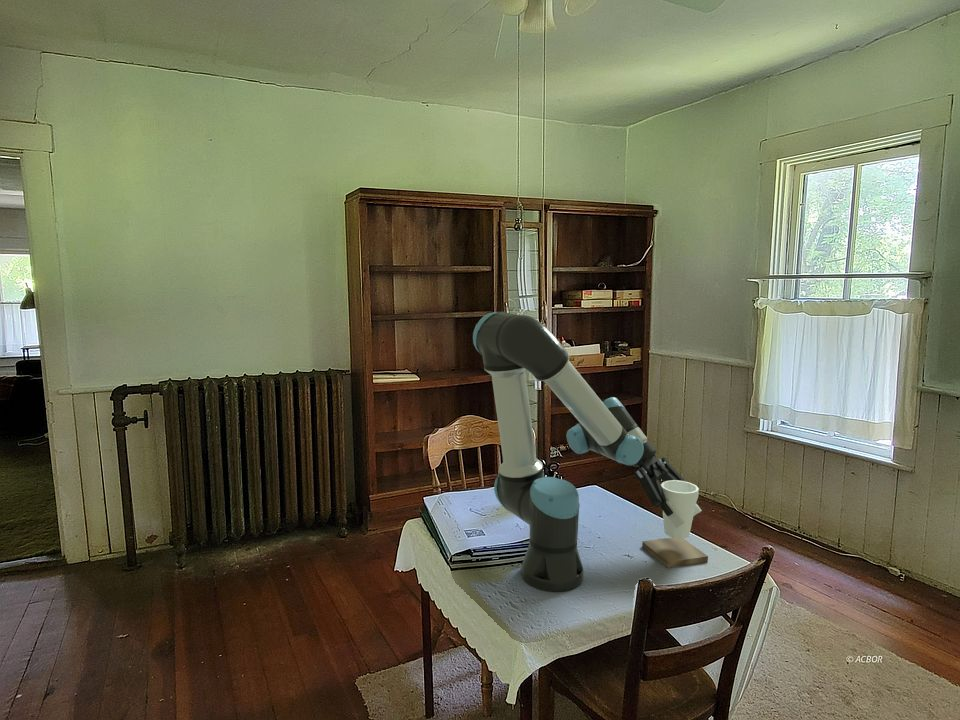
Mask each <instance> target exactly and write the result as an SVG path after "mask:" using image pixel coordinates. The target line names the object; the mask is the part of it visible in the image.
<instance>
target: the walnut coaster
mask: <svg viewBox="0 0 960 720" xmlns="http://www.w3.org/2000/svg"><path fill="white" fill-rule="evenodd" d="M641 543H642V545H641V546H642V548H643V549H644V550H646V551H647V552H648V553H649V554H650V555H652V556H653V557H654V558H655V559H657V560H658V561H659V562H660V563H661V564H662V565H664V566H665V567H666V568H668V569H669V568H675V567H679V566H680V567H681V566H687V565H693V564H700V563H701V564H702V563H707V562H709V555H707V554H705V552H704V551H701V550H700V548H697V547H696V546H695V545H693V544H692V543H690V542H689V541H688V540H686V538H682V539H679V538H673V537H667V538H665V537H664V538H659V539H651V540H644V541H642V542H641Z"/></svg>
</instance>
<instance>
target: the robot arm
mask: <svg viewBox="0 0 960 720" xmlns="http://www.w3.org/2000/svg"><path fill="white" fill-rule="evenodd" d="M472 343H473V346H474V347H475V350H476V351H477V352H478V353H479V354H480V355H481V356H482V360H483V369H484V371H485V372H487V373H488V374H489V375H490V376H491V382H492V389H493V395H494V403H495V409H496V410H495V411H496V417H497V426H498V432H499V441H500V446H501V447H500V448H501V455H502V461H503V462H502V463H501V464H500V465H499V466H498V473H497V477H496V478H495V481H494V485H493V487H494V489H493V490H494V491H493V492H494V494H495V497H496V500H497V501H498V502H499V503H500V505H502V507H503V508H504V509H505V510H506V511H508V512H510V513H512V514H513V515H514V516H515V517H517V518H519V519H520V520H522V521H523V522H525V523H526V524H527V525H529V541H528V542H529V544H528V546H527V549H526V552H525V554H524V558H523V560H522V564H521V578H522V579H523V581H524V582H526V583H527V584H528V585H529V586H531V587H534V588H536V589H538V590H541V591H547V592H564V591H565V592H567V591H571V590H573V589H576V588H577V587H579V586H580V585H581V584H582V583H583V581H584V567H583V563H582V560H581V555H580V553H579V552H580V551H579V550H578V535H579V514H580V506H581V505H580V500H579V499H580V497H579V491H578V489H577V488H576V487H575V486H574V484H572V483H571V482H569V481H568V480H565V479H563V478H557V477H553V476H545V471H544V465H543V462H542V461H541V460H539V459H538V458H537V455H536V447H535V439H534V430H533V423H532V422H533V420H532V416H531V406H530V397H529V389H528V381H527V374H526V370H527V371H528V372H529V373H530V374H531V375H532V376H534V378H535V379H536V381H540V382H544V383H545V384H546V385H547V386H548V387H549V389H550V390H551V391H552V392H553V393H554V394H555V396H556V397H557V398H558V399H559V400H560V401H561V403H562V404H563V405H564V406H565V407H566V408H567V409H568V411H569V412H570V413H571V414H572V415H573V417H574V418H575V419H576V420H577V421H578V422H579V423H576V424H575V425H574V426H572V427H570V428H569V429H568V430H567V432H566V435H565V437H566V440H567V443H568V446H569V448H570V449H571V450H572V452H574V453H575V454H577V455H582V454H584V453H588V452H589V451H592V452H594V453H597V454H599V455H601V456H604V457H606V458H608V459H611V460H613V461H615V462H617V463H618V464H623V465H626V466H633V467H637V468H639V469H637V471H635V472H634V475H635V478H637V479H638V482H640V485H641V486H642V489H643V490H644V492H645V494H646V496H647V498H648V500H649V503H651V505H652V506H653V507H655V508H656V509H658V508H659V507H660V509H662V512H663V511H664V512H665V514H666V515H667V516H668V517H669V519H670V520H671V522H672V523H673V524H674V526H675V527H676V528H677V527H679V526H680V525H682V524H684V523H685V522H684V520H683V519H682V518H681V516H680V515H679V513H678V512H677V511H676V509H675V508H674V507H673V505H672V504H671V502H670V501H667V502H666V498H665V495H664V493H663V490H662V487H661V482H660V480H662V481H663V482H665V481H669V480H679V481H685V482H687V481H686V480H685V479H684V477H682V475H681V474H680V473H678V471H677V470H676V469H675V468H674V467H673V466H672V465H671V463H669V461H668V460H667V458H666V457H665V456H662V458H660V459H659V458H657V456H656V454H657V449H655V447H654V445H653V444H652V442H650V441H648V437H647V436H646V435H645V433H644V432H643V430H642V429H641V428H640V427H639V425H638V424H637V423H636V421H635V420H634V419H633V416H631V415H630V413H629V412H628V410H627V408H626V407H625V406H624V405H623V404H622V402H621V401H620V400H619V399H618V398H617V397H614V396H611V397H609V398H606V399H604V400H603V401H602V400H601V398H600V397H599V396H598V395H597V394H596V392H595V391H594V389H593V388H592V387H591V385H589V384H588V382H587V381H586V380H585V379H584V377H583V376H582V375H581V373H580V372H579V371H578V370H577V369H576V367H574V365H573V364H572V363H571V361H570V353H569V352H568V351H567V349H566V348H565V347H564V346H563V344H562V343H561V342H560V341H559V340H558V338H556V336H555V335H554V334H553V333H552V332H551V331H550V330H549V329H548V327H546V326H545V325H544V324H543V323H542V322H540V321H539V320H538V319H536V318H534V317H532V316H529V315H524V314H518V313H517V314H516V313H510V312H507V311H494V312H488V313H487V314H486V315H484V316H483V317H481V318H480V319H479V320H478V322H477V323H476V324H475V327H474V330H473V332H472ZM701 512H702V509H701V507H700V506H699V505H698V504H697V502H696V506H695V511H694V515H693V517H695V516H696V515H698V514H700V513H701Z"/></svg>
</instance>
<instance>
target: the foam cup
mask: <svg viewBox="0 0 960 720" xmlns="http://www.w3.org/2000/svg"><path fill="white" fill-rule="evenodd" d="M685 481H686V480H685ZM685 481H679V480H669V481H665V482H664V481H663V482H661V483H660V485H661V487H662V490H663V493H664V495H665V498H666V502H667V501H670V502H671V504H672V505H673V507H674V508H675V509H676V511H677V512H678V513H679V515H680V516H681V518H682V519H683V520H684V522H685V523H684V524H682V525H680V526H679V527H677V528H676V527H675V526H674V524H673V523H672V522H671V520H670V519H669V517H668V516H667V515H666V514H665V512H664V511H663V510H662V521H663V522H662V523H663V531H664V533H665V535H666V536H668V537H669V538H672V537H673V538H679V539H682V538H684V539H687V538H689V537H690V533H691V529H692V525H693V524H692V523H693V520H694V516H693V515H694V511H695V506H696V503H697V501H698V498H699V490H700V488H699V487H698V486H697V485H696V484H694V483H691V482H690V481H689V482H688V481H686V482H685Z"/></svg>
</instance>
